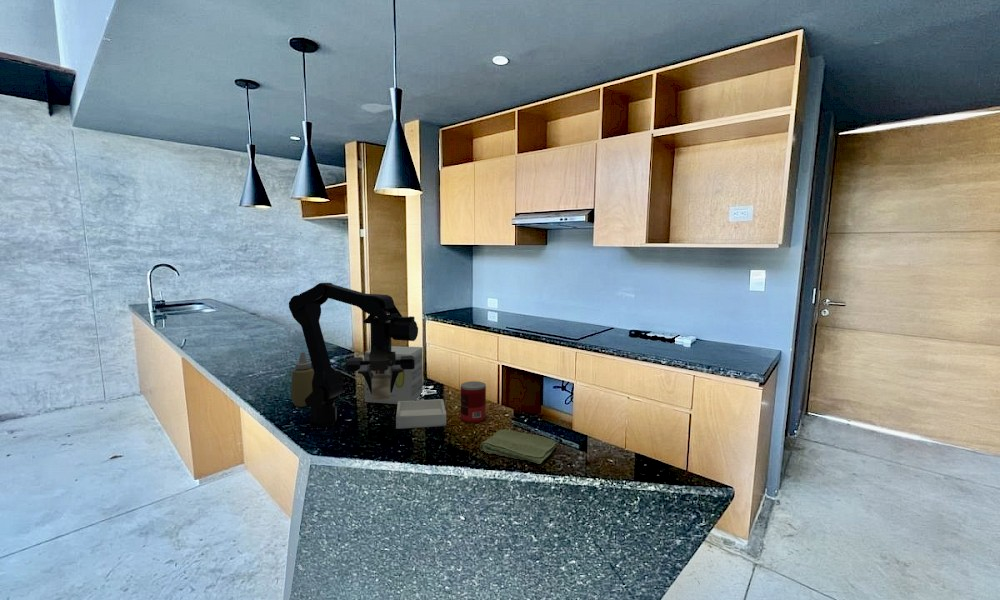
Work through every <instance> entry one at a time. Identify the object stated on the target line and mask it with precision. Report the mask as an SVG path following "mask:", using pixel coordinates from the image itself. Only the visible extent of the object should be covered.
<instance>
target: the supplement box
mask: <svg viewBox="0 0 1000 600" xmlns="http://www.w3.org/2000/svg"><path fill="white" fill-rule="evenodd" d="M423 350H424V349H423V347H422V346H401V345H400V346H399V345H391V352H395V353H396V360H397V359H401V356H413V357H414V358H415V369H404V370H403V372H400V373H399V374H398V376H397V378H396V381H395V384H394V387H393V390H392V393H391V396H390V399H372V394H371V392H370V390H369V387H368V384H367V382H366V380H365V379H364V402H365V403H374V404H375V403H378V404H388V405H392V404H393V405H398V401H415V400H416V399H417V398H418V397H419V396H420V395H421V393H422V392H423V380H424V379H423V377H424V375H423ZM370 352H371V348H370V349H369V350H366V351H364V360H369V355H370ZM392 371H393V366H388V370H385V371H383V370H376V371H371V374H372V376H373V374H391V379H392ZM421 396H422V395H421ZM421 396H420V397H421ZM420 397H419V398H420ZM419 398H418V399H419ZM418 399H417V400H418Z"/></svg>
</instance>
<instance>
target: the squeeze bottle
mask: <svg viewBox="0 0 1000 600" xmlns="http://www.w3.org/2000/svg"><path fill="white" fill-rule="evenodd" d="M313 375H314V370H313V367H312V363H311V361H308V360H307V356H306V353H305V352H304V351H303V352H302V351H301V352H300V356H299V360H298V362H296V363H295V369H294V370H293V371H292V375H291V376H292V377H291V386H290V397H291V400H292V403H293V405H294V407H297V408H303V407H307V406H306V403H305V399H306V398H307V397H308V396H309V395H310V394H311V393H312V392H313V391H312V379H313Z"/></svg>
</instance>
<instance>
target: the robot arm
mask: <svg viewBox="0 0 1000 600" xmlns="http://www.w3.org/2000/svg"><path fill="white" fill-rule="evenodd" d="M328 299H330V300H334V301H337V302H341V303H344V304H348V305H352V306H354V307H357V308H359V309H360V310H361V311H363V312H364V313H366V314H367V315H368V316H367V317H366V318H365V319H364V320H362V323H363V324H370V349H371V352H370V355H369V360H365V359H363V356H360V357H358V356H357V357H349V358H348V359H347V360H346V362H345V365H344V367H345V368H344V369H345V372H357V374H358V375H362V377H364V381H365V380H366V382H367V384H368V387H369V390H370V392H371V394H372V374H371V371H376V370H383V371H385V370H388V366H393V371H392V379H391V386H390V393H392V390H393V387H394V384H395V381H396V378H397V376H398V374H399V373H400V372H403V370H404V369H415V358H414V357H413V356H401V359H397V360H396V353H395V352H391V346H392V339H393V340H394V341H405V342H415V341H416V339H417V337H418V335H419V327H418V324H417V322H416V320H415V316H402V314H401V312H400V311H399V309H398V307H396V305H395V302H394V299H393V297H392V296H391V295H389V294H380V293H379V294H378V293H365V292H362V291H358V290H354V289H351V288H348V287H343V286H340V285H336V284H333V283H332V282H319V283H318V284H316V285H314V286H313V287H311V288H309V289H307V290H305V291H303V292H301V293H300V294H296V295H294V296H292V297H290V300H289V302H288V308H289V311H290V313H291V315H292V317H293V319H294V320H295V321H296V322H297V323H298V324H299V325H300V327H301V329H302V333H303V338H304V341H305V345H306V347H307V352H308V355H309V358H310V359H309V360H310V363H311V367H312V369H313V370H314V375H313V379H312V391H313V392H312V393H311V394H310V395H309V396H308V397H307V398H306V399H305V403H306V406H305V407H307V408H310V424H309V426H308V427H309V428H318V427H321V428H322V427H332V426H333V425H334V423H335V422H336V421H337V419H338V412H337V411H338V406H337V405H335V404H336V402H335V401H338V400H339V397H340V394H342V392H343V390H344V384H345V382H344V380H343V376H342V372H341V371H340V370H338V371H336V370H335V369H334V367H332V364H331V360H330V357H329V353H328V350H327V347H326V346H327V345H326V343H325V339H324V335H323V331H322V328H321V325H320V319H321V314H322V308H321V307H322V305H324V304H325V303H326V302H327V301H328Z"/></svg>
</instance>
